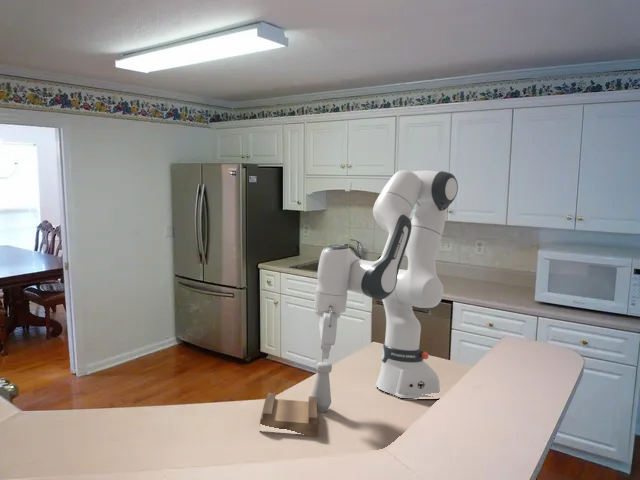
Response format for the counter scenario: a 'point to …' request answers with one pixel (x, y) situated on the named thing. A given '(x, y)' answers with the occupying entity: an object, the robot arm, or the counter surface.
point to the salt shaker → (322, 386)
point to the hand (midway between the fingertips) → (324, 353)
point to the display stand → (291, 415)
